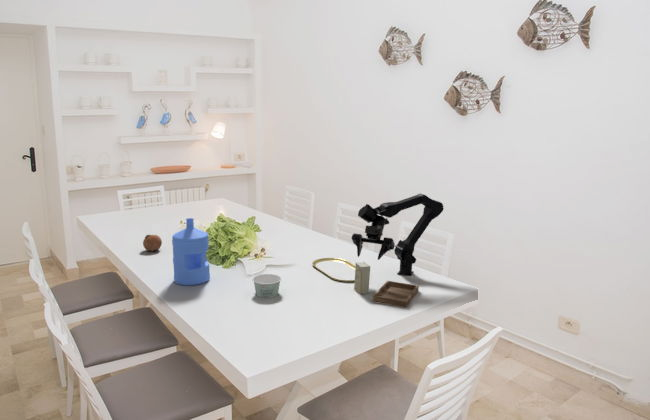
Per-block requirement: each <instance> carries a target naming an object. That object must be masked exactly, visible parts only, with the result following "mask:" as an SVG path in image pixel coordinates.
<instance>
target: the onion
mask: <svg viewBox="0 0 650 420" xmlns="http://www.w3.org/2000/svg"><path fill="white" fill-rule="evenodd" d="M162 244H163V240H162V238H161V237H160V236H159V235H157V234H146V235H145V237H144V239H143V241H142V245H143V248H144V249H145V250H146V251H147V252H157V251H159V250H160V249H161V246H162ZM156 250H157V251H156Z"/></svg>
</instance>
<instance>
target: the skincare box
mask: <svg viewBox="0 0 650 420" xmlns="http://www.w3.org/2000/svg"><path fill="white" fill-rule="evenodd" d="M370 277H371V265H369V264H368V263H367V262H365V261H362V262H361V261H359V262H358V261H357V262H355V269H354V280H355V282H354V283H353V284H354V285H353V286H354V290H355V291H356V292H357V293H358V294H359V295H362V294H369V293H370V292H369V289H370Z"/></svg>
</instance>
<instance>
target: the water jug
mask: <svg viewBox="0 0 650 420" xmlns="http://www.w3.org/2000/svg"><path fill="white" fill-rule="evenodd" d="M185 221H186V223H185V225H186V227H185V228H184V229H181V230H180V231H177V232H175V233H173V235H172V238H171V241H172V256H173V257H172V262H173V281H174V282H175V283H176V284H178V285H181V286H197V285H202V284H205V283H207V282H208V281H209V280H210V278H211V273H210V262H208V260H207V251H208V250H209V249H210V247H209V244H210V240H209V239H210V238H209V233H208V232H206V231H203V230H201V229H198V228H195V226H194V224H195V223H194V218H193V217H191V218H189V217H188V218H186V220H185Z"/></svg>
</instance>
